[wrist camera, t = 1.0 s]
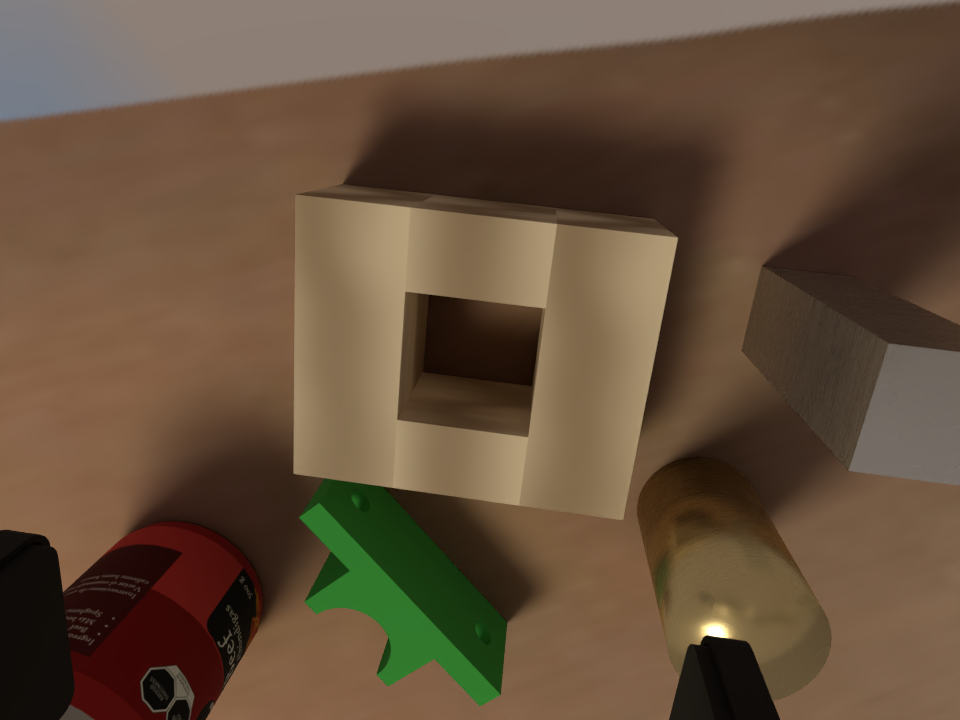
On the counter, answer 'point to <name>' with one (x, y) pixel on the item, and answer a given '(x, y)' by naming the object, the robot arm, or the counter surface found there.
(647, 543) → the round bit
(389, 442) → the socket block
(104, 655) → the canned food
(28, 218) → the counter surface
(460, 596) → the pipe clamp
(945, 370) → the square bit
